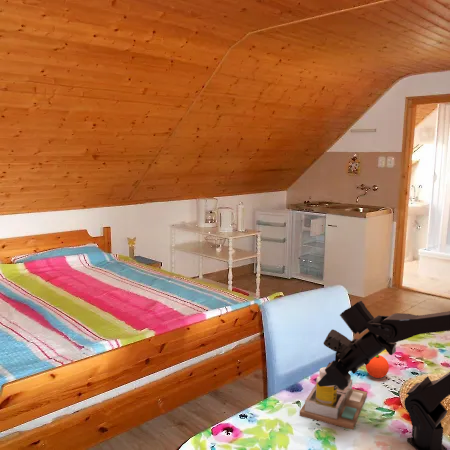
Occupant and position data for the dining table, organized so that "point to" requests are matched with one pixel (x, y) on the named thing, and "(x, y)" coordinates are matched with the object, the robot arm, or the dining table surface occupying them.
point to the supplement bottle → (325, 391)
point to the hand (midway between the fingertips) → (321, 380)
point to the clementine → (378, 367)
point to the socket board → (343, 410)
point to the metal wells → (327, 409)
